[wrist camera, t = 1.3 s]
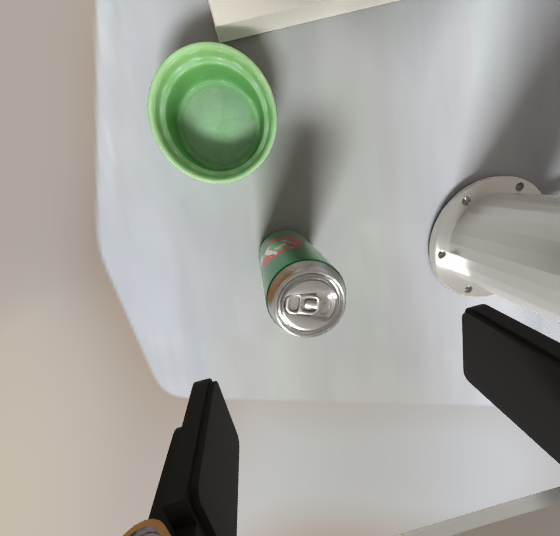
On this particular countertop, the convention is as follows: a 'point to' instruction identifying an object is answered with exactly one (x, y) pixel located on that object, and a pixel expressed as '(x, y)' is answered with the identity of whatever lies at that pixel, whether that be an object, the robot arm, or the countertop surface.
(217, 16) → the scale
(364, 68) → the countertop surface
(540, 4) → the countertop surface
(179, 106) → the ramekin
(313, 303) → the soda can
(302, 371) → the countertop surface
